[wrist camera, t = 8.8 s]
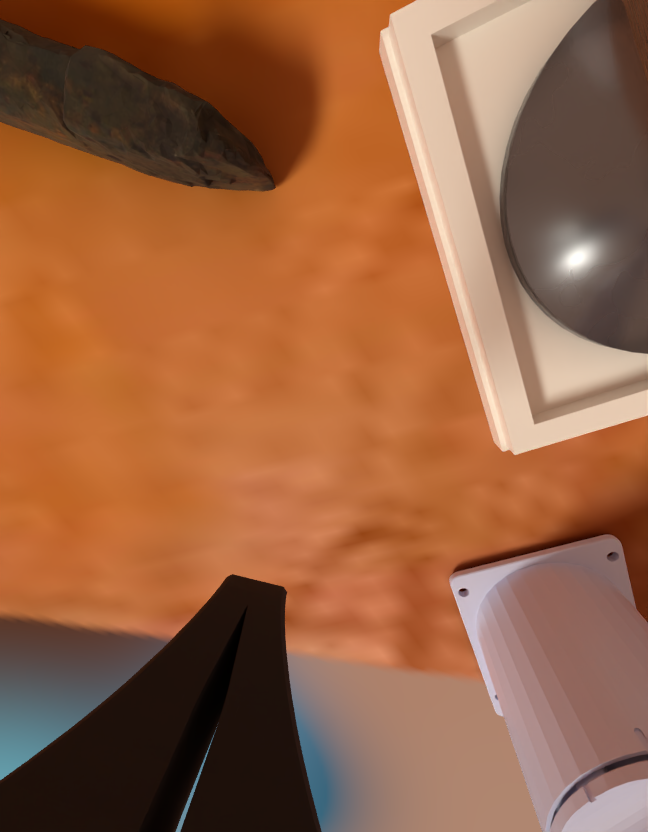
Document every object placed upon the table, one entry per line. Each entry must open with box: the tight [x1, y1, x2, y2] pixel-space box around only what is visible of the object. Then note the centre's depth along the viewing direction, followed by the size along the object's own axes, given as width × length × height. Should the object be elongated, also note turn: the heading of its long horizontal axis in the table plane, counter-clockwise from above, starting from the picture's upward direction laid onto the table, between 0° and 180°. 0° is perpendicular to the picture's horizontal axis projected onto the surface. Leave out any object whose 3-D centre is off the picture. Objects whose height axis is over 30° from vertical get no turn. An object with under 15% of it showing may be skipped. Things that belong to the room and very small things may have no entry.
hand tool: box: [0, 19, 276, 191], centre depth 14 cm, size 19×4×5 cm, turn 68°
